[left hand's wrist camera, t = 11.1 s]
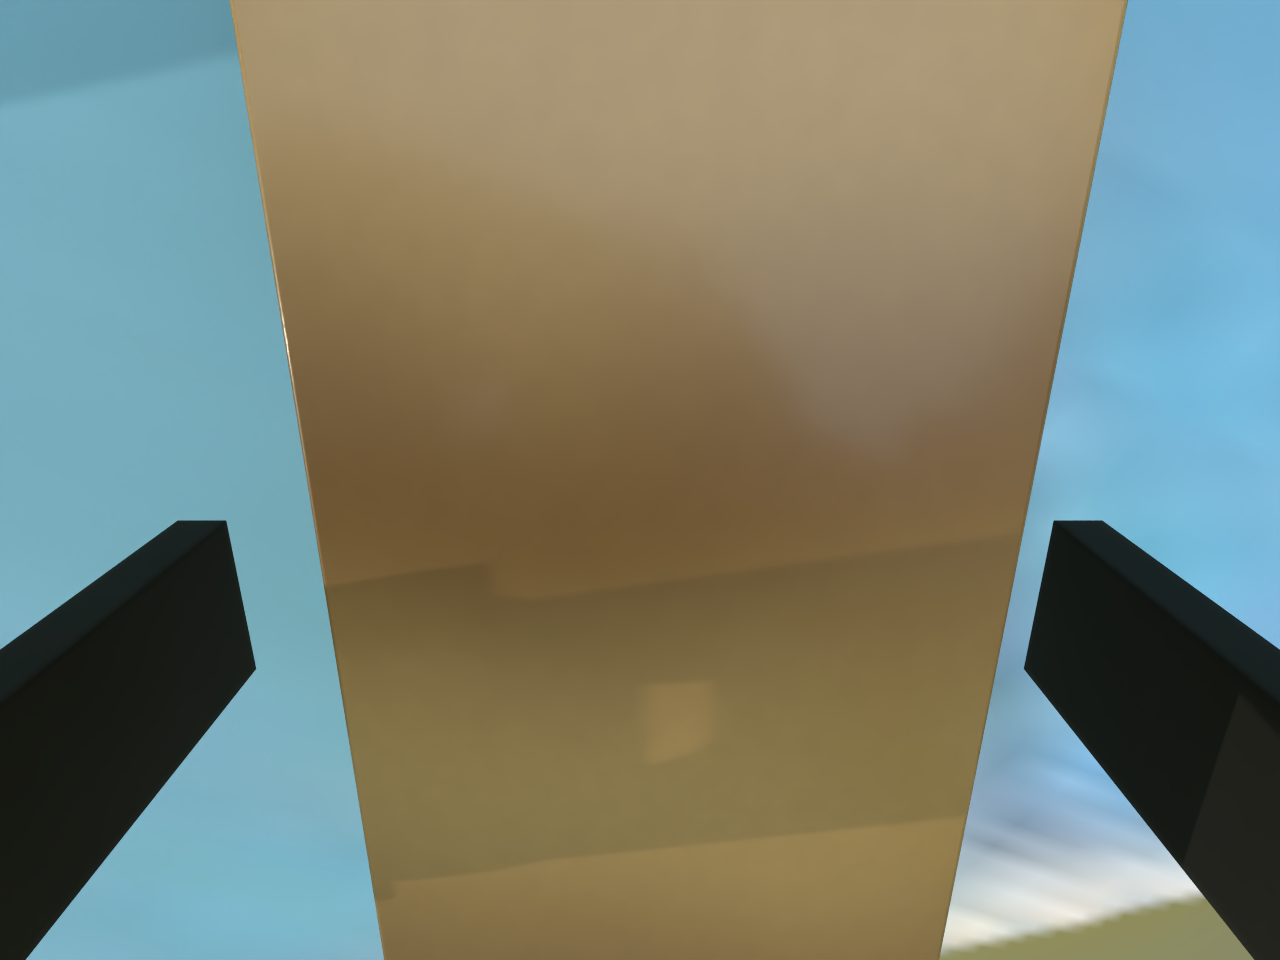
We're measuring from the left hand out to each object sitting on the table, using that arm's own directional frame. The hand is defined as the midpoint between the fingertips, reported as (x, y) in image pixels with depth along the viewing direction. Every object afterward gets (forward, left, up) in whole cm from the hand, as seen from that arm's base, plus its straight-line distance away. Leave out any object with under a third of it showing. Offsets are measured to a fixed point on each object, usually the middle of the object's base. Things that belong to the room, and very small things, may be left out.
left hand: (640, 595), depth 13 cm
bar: (+10, +2, -3) cm, 11 cm away
